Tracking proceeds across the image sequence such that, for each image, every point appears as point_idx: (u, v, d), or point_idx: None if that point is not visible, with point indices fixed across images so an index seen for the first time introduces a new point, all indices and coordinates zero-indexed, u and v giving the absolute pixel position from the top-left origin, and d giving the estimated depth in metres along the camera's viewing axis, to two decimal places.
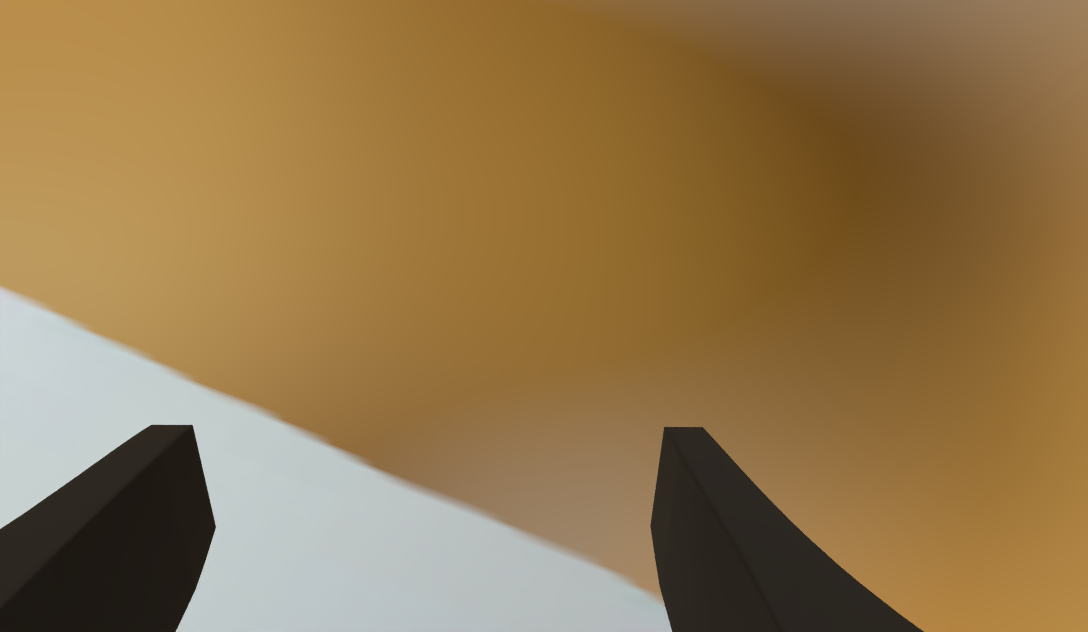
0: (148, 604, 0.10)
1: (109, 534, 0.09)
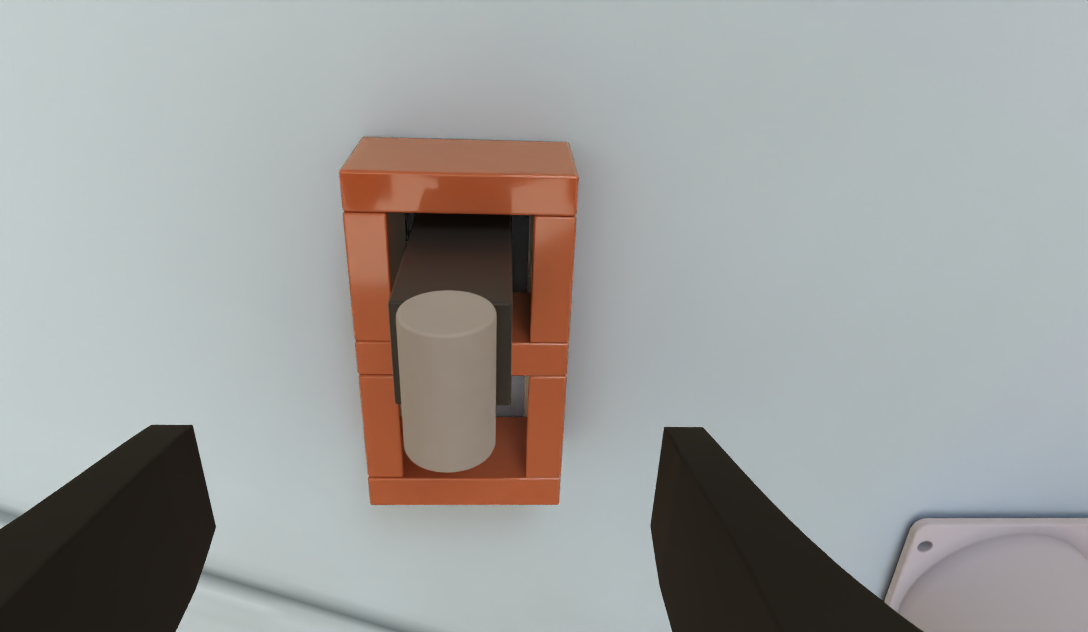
0: (148, 604, 0.10)
1: (109, 534, 0.09)
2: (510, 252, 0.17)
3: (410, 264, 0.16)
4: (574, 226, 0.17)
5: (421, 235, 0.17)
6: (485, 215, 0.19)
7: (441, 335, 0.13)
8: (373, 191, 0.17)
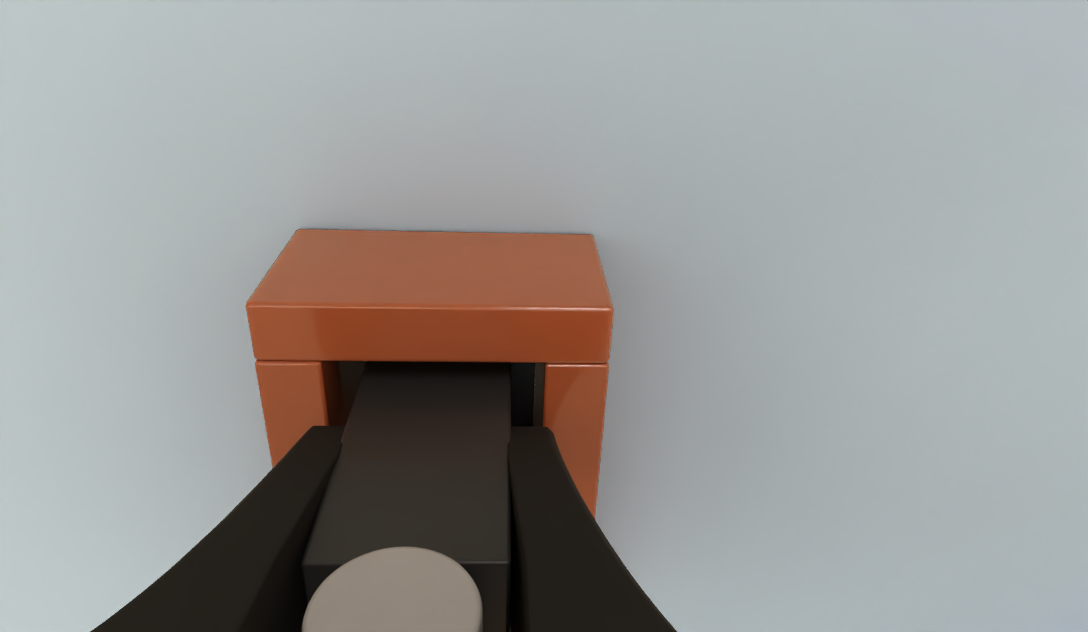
0: None
1: (308, 533, 0.09)
2: (508, 429, 0.11)
3: (349, 462, 0.10)
4: (606, 377, 0.12)
5: (375, 393, 0.11)
6: None
7: None
8: (299, 332, 0.11)
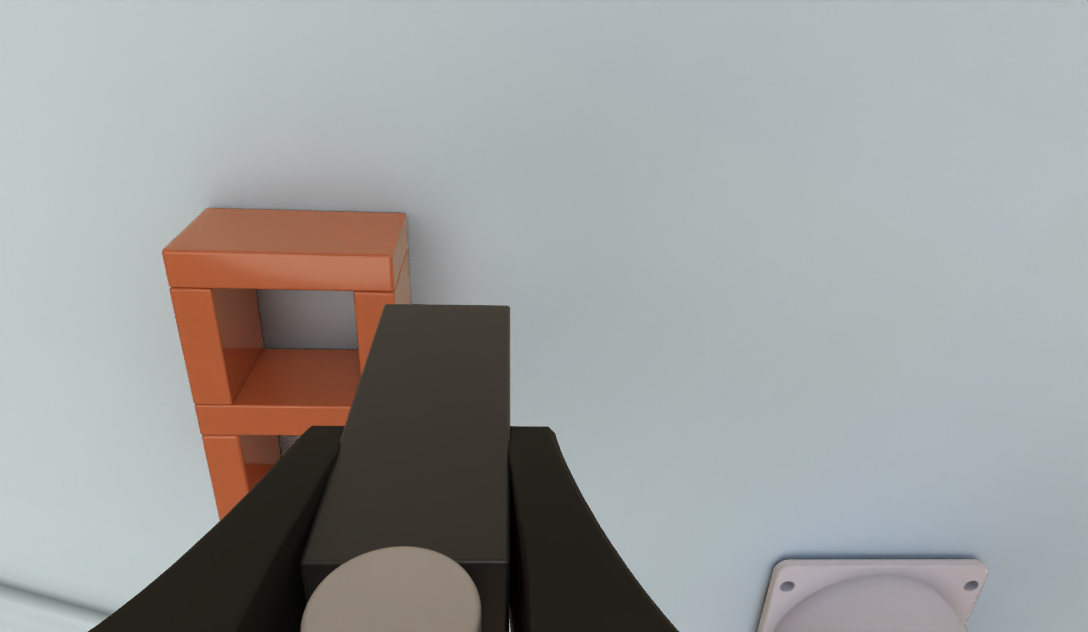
0: None
1: (306, 533, 0.09)
2: (507, 428, 0.11)
3: (348, 462, 0.10)
4: (393, 301, 0.18)
5: (374, 392, 0.11)
6: (471, 346, 0.13)
7: None
8: (196, 269, 0.18)
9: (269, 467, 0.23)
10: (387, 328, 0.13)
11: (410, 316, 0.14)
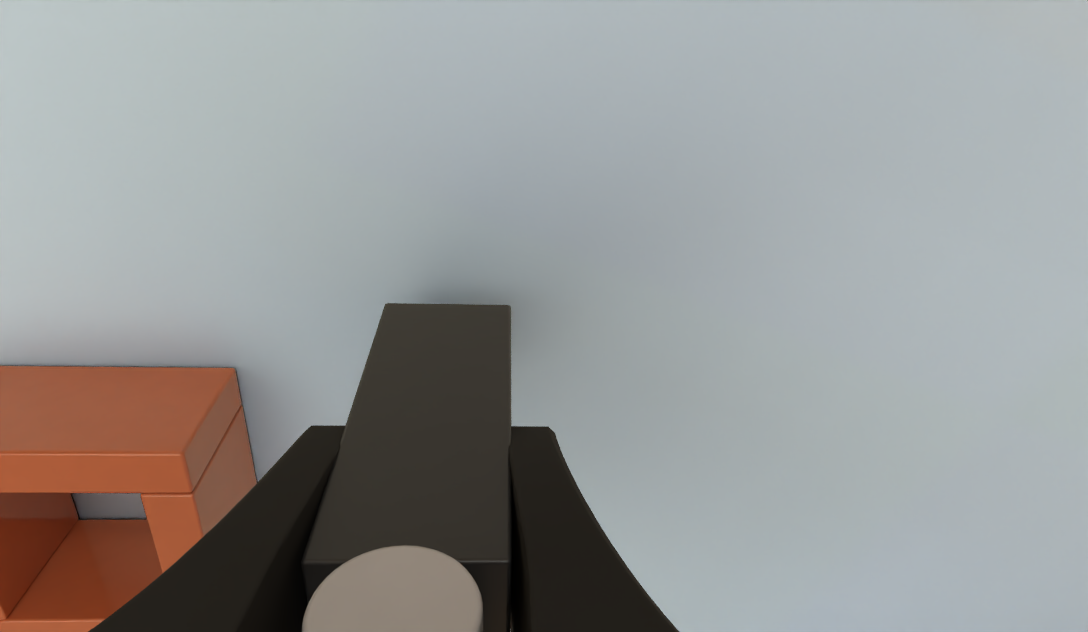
0: None
1: (306, 533, 0.09)
2: (508, 427, 0.11)
3: (349, 462, 0.10)
4: (192, 503, 0.14)
5: (374, 391, 0.11)
6: (472, 346, 0.13)
7: None
8: None
9: None
10: (387, 327, 0.13)
11: (411, 316, 0.14)
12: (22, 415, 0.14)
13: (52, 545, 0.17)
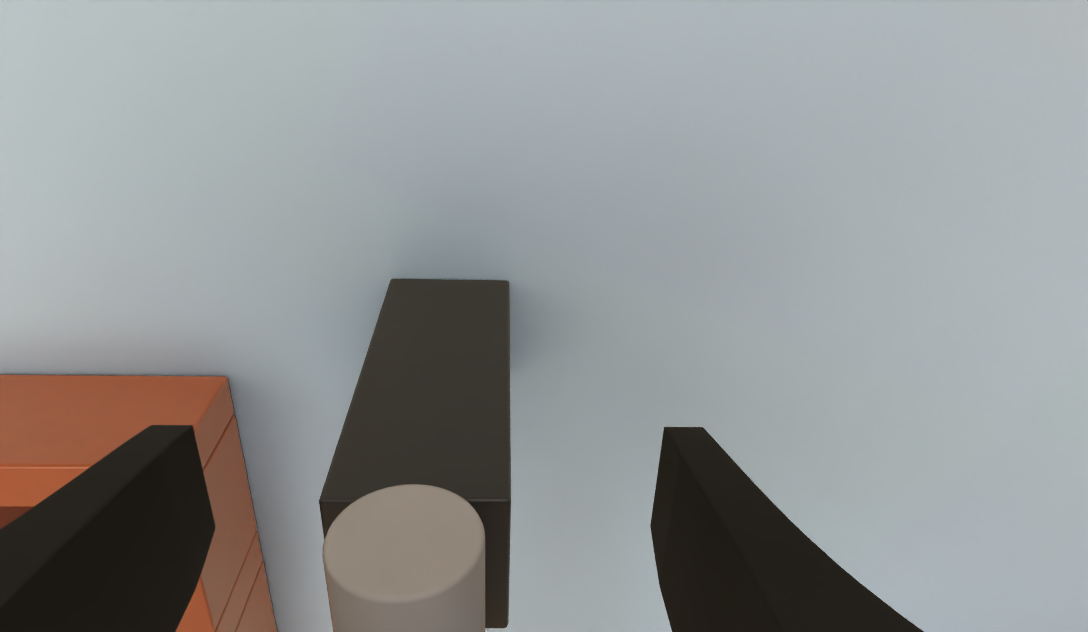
0: (148, 604, 0.10)
1: (109, 534, 0.09)
2: (507, 387, 0.12)
3: (360, 417, 0.11)
4: None
5: (383, 356, 0.12)
6: (473, 316, 0.14)
7: (393, 598, 0.08)
8: None
9: None
10: (394, 300, 0.14)
11: (416, 289, 0.14)
12: (8, 426, 0.14)
13: None
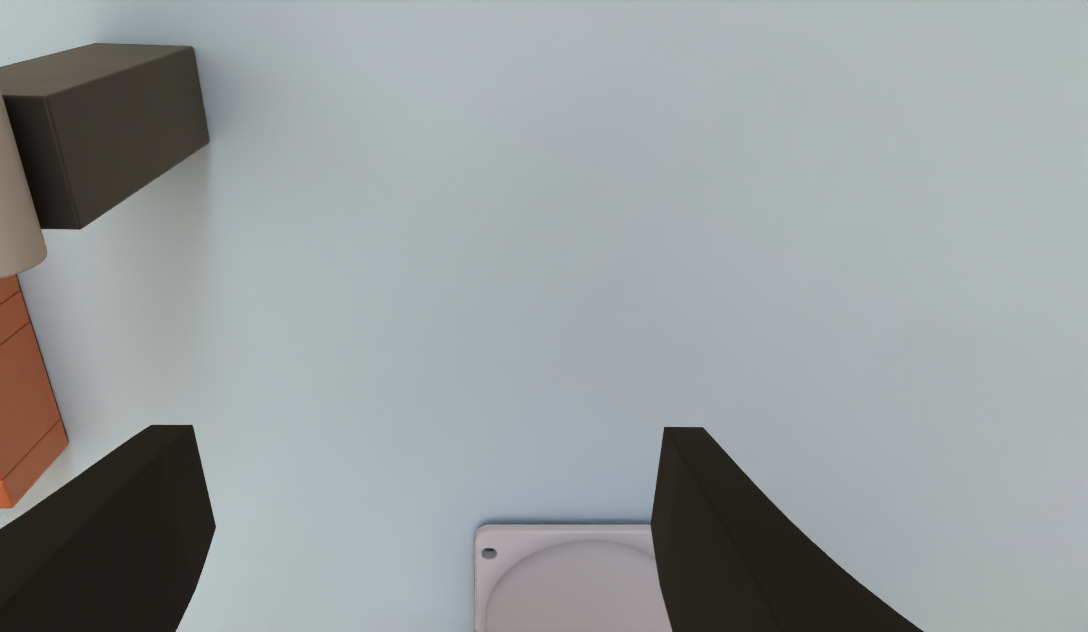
0: (148, 604, 0.10)
1: (109, 534, 0.09)
2: (116, 72, 0.15)
3: None
4: None
5: (35, 61, 0.15)
6: (136, 54, 0.17)
7: None
8: None
9: None
10: (81, 48, 0.17)
11: (107, 46, 0.18)
12: None
13: None
